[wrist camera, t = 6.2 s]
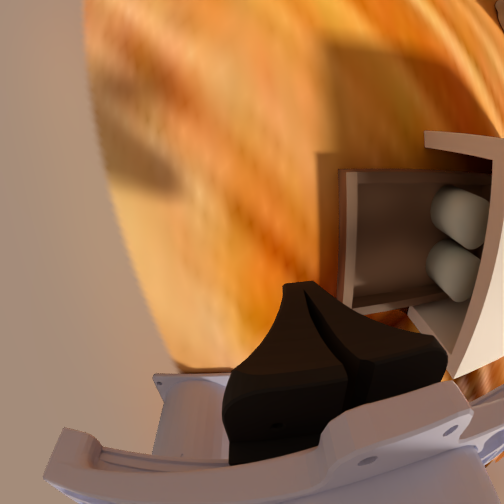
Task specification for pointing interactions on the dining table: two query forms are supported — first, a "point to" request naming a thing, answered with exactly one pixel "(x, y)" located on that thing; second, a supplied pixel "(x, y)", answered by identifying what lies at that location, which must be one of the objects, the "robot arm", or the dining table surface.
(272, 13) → the dining table surface
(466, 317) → the grey rectangular block
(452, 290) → the white rounded cylinder
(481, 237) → the grey rounded lump
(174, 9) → the dining table surface
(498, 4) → the flower pot
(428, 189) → the tray
